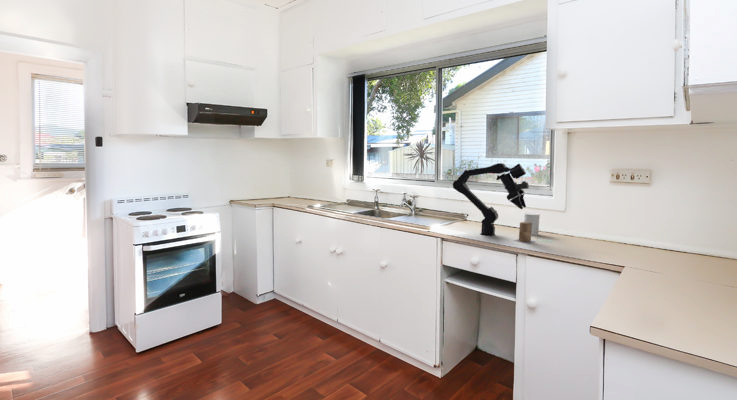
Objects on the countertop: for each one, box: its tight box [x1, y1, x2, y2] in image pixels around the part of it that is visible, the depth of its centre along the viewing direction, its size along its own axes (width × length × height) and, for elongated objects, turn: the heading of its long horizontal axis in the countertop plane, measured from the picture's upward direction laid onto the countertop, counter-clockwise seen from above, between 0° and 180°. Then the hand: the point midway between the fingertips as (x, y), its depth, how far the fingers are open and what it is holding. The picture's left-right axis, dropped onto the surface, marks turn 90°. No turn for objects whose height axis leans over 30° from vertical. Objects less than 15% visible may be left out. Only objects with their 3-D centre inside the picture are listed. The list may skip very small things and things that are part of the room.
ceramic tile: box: [536, 238, 555, 244], centre depth 219 cm, size 8×8×1 cm
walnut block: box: [518, 221, 532, 242], centre depth 216 cm, size 4×4×10 cm
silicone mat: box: [513, 238, 538, 245], centre depth 217 cm, size 9×9×1 cm
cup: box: [523, 212, 541, 236], centre depth 237 cm, size 8×8×12 cm
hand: (523, 208), depth 222 cm, fingers open, 9 cm apart
